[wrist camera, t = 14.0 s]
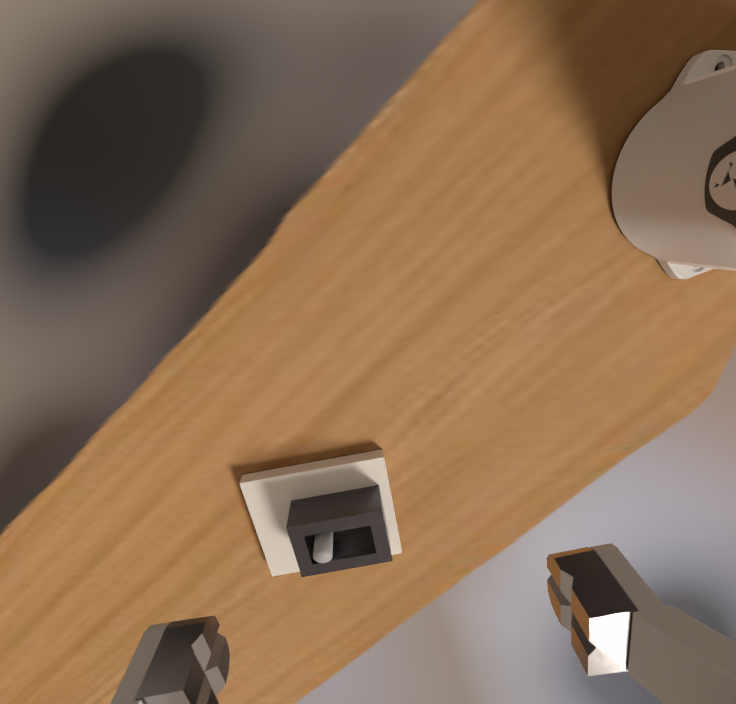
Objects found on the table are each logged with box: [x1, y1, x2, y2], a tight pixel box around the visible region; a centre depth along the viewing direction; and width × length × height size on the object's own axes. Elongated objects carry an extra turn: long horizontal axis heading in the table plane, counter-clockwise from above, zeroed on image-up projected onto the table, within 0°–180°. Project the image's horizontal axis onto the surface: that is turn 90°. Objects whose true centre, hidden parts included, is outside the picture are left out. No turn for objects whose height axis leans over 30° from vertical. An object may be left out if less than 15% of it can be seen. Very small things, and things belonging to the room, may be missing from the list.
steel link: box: [286, 485, 392, 577], centre depth 44 cm, size 10×7×4 cm
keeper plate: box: [239, 449, 402, 576], centre depth 44 cm, size 16×14×6 cm
